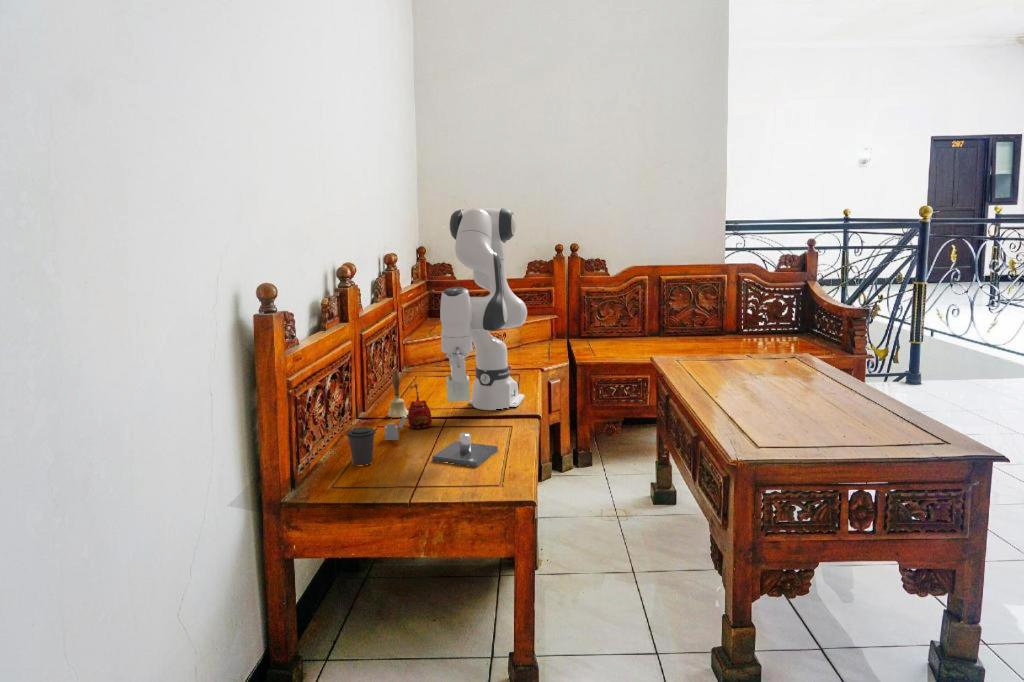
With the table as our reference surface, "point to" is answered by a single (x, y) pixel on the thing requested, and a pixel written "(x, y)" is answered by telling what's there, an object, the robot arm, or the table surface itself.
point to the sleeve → (452, 391)
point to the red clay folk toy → (419, 413)
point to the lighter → (394, 429)
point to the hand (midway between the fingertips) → (458, 392)
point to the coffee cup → (361, 445)
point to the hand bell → (397, 399)
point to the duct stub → (465, 452)
